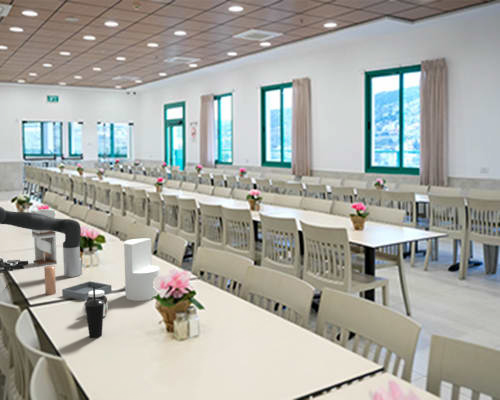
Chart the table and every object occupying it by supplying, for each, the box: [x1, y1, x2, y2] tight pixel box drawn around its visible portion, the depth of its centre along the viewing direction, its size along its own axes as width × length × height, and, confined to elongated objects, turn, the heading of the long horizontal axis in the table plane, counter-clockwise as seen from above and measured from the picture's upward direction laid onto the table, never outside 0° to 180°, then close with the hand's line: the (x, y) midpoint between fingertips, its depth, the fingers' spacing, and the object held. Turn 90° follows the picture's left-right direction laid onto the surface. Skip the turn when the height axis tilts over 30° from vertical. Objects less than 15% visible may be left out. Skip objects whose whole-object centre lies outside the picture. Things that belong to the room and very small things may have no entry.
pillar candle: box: [43, 265, 57, 296], centre depth 257 cm, size 5×5×14 cm
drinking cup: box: [83, 287, 105, 339], centre depth 198 cm, size 8×8×20 cm
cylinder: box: [123, 237, 161, 302], centre depth 252 cm, size 17×17×28 cm
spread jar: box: [82, 290, 109, 320], centre depth 221 cm, size 12×11×12 cm
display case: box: [30, 208, 58, 267], centre depth 323 cm, size 11×11×35 cm
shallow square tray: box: [61, 280, 112, 302], centre depth 257 cm, size 18×16×4 cm
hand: (25, 264), depth 254 cm, fingers open, 8 cm apart
